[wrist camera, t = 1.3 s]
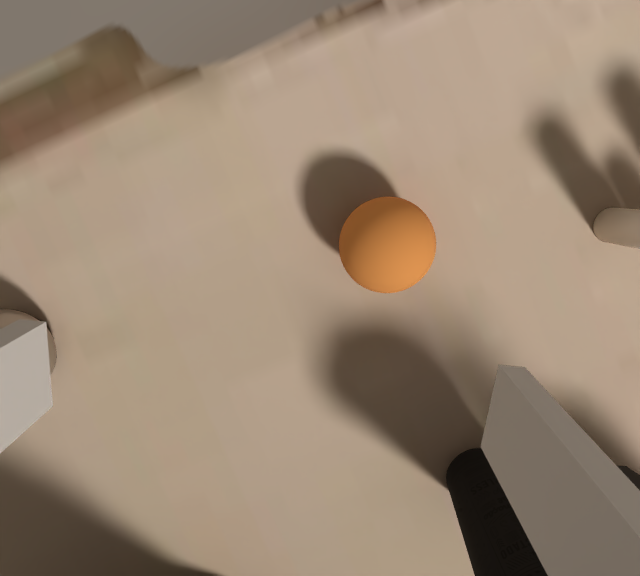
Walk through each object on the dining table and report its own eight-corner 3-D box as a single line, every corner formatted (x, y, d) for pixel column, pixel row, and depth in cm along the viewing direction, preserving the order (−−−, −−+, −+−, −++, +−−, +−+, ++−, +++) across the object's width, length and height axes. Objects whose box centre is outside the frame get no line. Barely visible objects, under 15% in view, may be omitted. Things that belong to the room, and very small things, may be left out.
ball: (338, 284, 32) (344, 306, 26) (334, 198, 31) (339, 201, 25) (423, 279, 32) (448, 300, 26) (422, 192, 31) (448, 194, 25)
